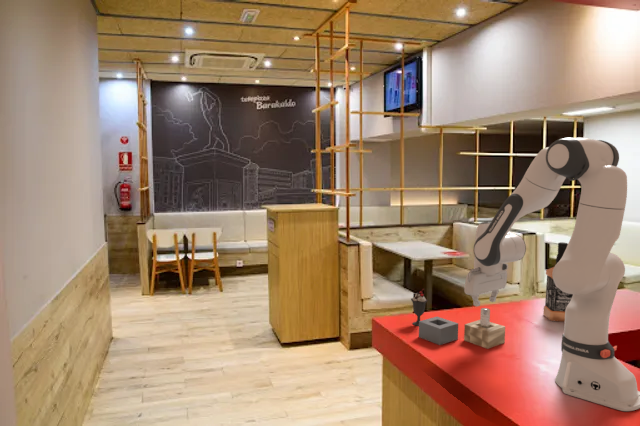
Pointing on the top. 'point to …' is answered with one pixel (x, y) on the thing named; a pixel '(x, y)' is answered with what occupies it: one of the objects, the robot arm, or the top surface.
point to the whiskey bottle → (556, 293)
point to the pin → (485, 318)
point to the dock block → (438, 330)
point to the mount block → (484, 334)
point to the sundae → (418, 305)
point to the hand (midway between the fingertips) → (484, 303)
